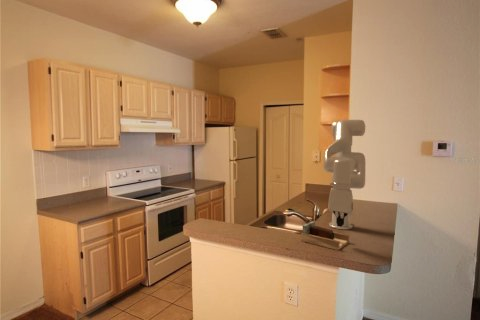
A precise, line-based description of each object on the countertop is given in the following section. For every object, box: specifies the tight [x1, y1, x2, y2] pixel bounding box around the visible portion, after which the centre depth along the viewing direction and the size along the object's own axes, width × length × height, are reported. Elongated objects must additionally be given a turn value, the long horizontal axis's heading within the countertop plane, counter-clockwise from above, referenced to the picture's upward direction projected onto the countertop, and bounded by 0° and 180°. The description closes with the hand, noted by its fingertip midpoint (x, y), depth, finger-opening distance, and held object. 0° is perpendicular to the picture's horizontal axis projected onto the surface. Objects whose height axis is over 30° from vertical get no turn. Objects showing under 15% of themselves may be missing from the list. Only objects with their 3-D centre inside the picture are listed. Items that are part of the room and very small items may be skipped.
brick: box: [310, 225, 334, 239], centre depth 140 cm, size 11×4×5 cm, turn 47°
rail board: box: [300, 220, 350, 251], centre depth 138 cm, size 13×18×7 cm
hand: (340, 225), depth 134 cm, fingers closed
